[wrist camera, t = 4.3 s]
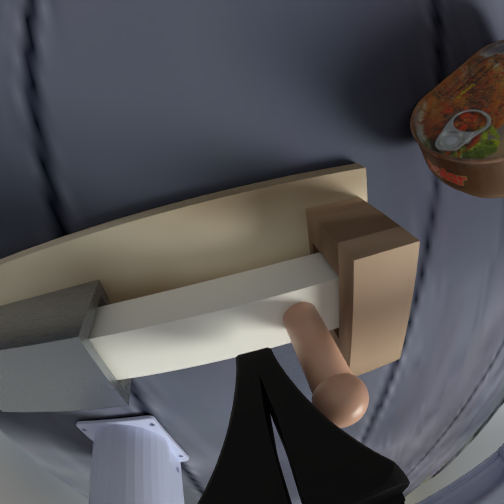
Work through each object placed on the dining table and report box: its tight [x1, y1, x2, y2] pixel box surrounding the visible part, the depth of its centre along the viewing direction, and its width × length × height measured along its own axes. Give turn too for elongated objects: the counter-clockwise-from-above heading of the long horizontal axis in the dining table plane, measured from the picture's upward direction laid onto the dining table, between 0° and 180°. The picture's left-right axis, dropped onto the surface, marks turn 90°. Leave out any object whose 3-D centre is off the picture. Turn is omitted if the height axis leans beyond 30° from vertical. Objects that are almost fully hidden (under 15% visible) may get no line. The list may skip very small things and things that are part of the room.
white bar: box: [88, 252, 369, 428], centre depth 12 cm, size 3×16×8 cm, turn 100°
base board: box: [0, 163, 367, 306], centre depth 16 cm, size 10×26×1 cm, turn 100°
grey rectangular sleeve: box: [0, 280, 131, 412], centre depth 14 cm, size 5×10×4 cm, turn 100°
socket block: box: [305, 197, 420, 376], centre depth 15 cm, size 7×3×5 cm, turn 10°
